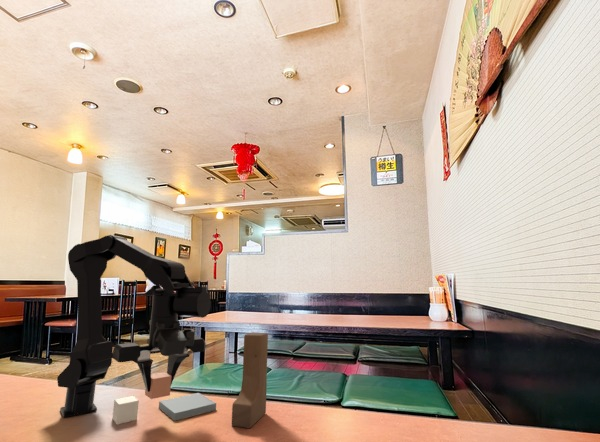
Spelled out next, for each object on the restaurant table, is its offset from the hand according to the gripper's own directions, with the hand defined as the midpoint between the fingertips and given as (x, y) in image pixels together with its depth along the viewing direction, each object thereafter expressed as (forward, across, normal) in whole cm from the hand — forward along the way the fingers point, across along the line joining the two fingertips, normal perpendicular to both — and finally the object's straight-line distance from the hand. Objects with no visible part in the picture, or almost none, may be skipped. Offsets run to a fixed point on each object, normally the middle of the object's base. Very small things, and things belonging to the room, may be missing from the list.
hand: (158, 389), depth 72 cm
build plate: (+7, +8, +3) cm, 11 cm away
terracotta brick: (+1, 0, 0) cm, 1 cm away
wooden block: (+7, +16, -12) cm, 21 cm away
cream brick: (+7, -5, +6) cm, 10 cm away
